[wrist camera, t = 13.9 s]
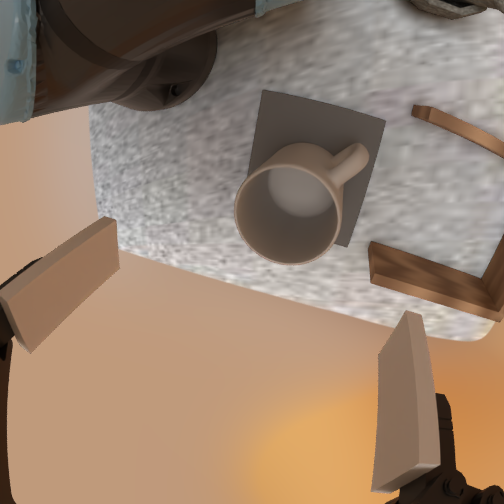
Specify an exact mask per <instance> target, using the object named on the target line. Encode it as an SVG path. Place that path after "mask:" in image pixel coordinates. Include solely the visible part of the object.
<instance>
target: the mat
mask: <svg viewBox="0 0 504 504" xmlns="http://www.w3.org/2000/svg"><path fill="white" fill-rule="evenodd" d="M385 123H386V121H385V120H382V119H379V118H375V117H372V116H369V115H366V114H363V113H359V112H356V111H353V110H349V109H346V108H342V107H338V106H335V105H331V104H327V103H323V102H319V101H315V100H310V99H306V98H302V97H297V96H292V95H288V94H283V93H278V92H272V91H267V90H263V91H262V97H261V102H260V108H259V113H258V119H257V124H256V130H255V136H254V141H253V147H252V153H251V159H250V164H249V170H248V176H249V175H250V174H252V173H253V172H254V171H255V170H256V169H257V168H259V167H260V166H261V165H262V164H263V163H265V162H266V161H267V160H268V159H270V158H271V157H272V156H273V155H274V154H275V153H276V152H277V151H279V150H280V149H282V148H283V147H285V146H287V145H290V144H294V143H311V144H315V145H318V146H320V147H322V148H324V149H325V150H327V151H328V152H329V153H331V154H332V155H333V156H335V155H337V154H338V153H340V152H341V151H342V150H344V149H345V148H347V147H349V146H350V145H352V144H355V143H360V144H362V145H363V146H364V147H365V148H366V149H367V151H368V153H369V161H368V163H367V165H366V166H365V167H364V168H363V169H362V170H361V171H360V172H359V173H357V174H356V175H355V176H353V177H352V178H351V179H349V180H348V181H346V182H345V183H344V190H343V208H342V222H341V228H340V231H339V234H338V237H337V239H336V241H335V242H334V244H337V245H340V246H344V247H348V244H349V241H350V239H351V236H352V233H353V230H354V227H355V224H356V221H357V218H358V215H359V212H360V209H361V206H362V203H363V200H364V197H365V193H366V190H367V187H368V184H369V180H370V177H371V174H372V170H373V167H374V164H375V160H376V157H377V153H378V149H379V146H380V142H381V138H382V135H383V131H384V127H385ZM248 176H247V177H248Z"/></svg>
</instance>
